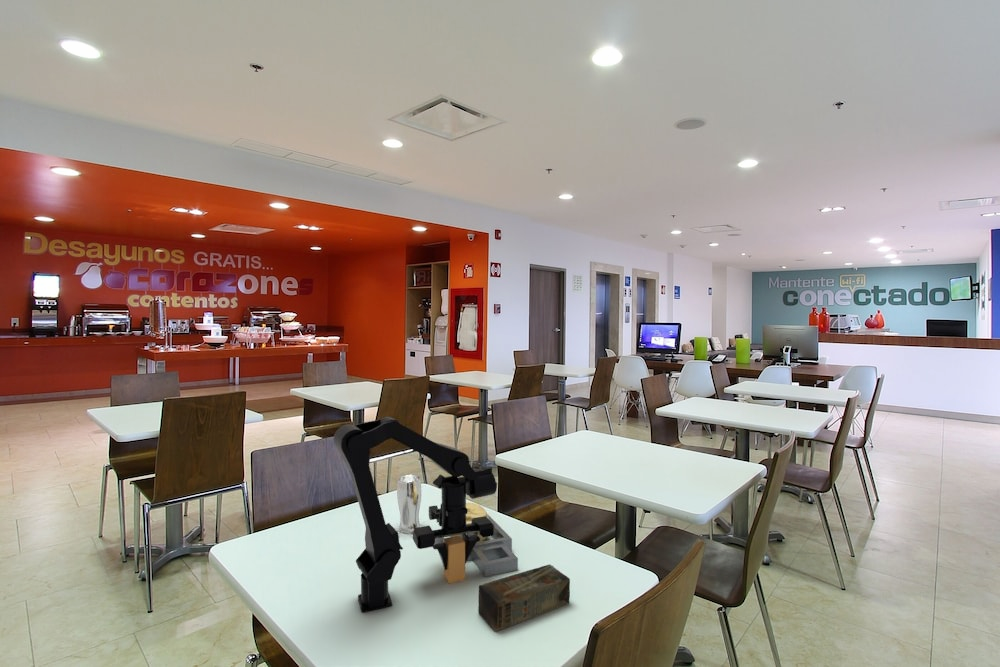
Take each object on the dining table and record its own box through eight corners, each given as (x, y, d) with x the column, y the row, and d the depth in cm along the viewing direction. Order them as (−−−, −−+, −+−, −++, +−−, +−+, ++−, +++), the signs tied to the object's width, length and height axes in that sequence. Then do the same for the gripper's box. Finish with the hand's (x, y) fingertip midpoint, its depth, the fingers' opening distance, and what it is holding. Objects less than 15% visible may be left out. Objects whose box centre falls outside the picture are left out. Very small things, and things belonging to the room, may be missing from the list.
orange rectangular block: (465, 579, 118) (464, 542, 118) (448, 583, 117) (448, 545, 116) (460, 571, 122) (459, 535, 122) (444, 575, 120) (443, 538, 120)
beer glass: (393, 532, 144) (392, 480, 143) (404, 522, 151) (404, 473, 150) (415, 535, 142) (414, 483, 141) (425, 525, 149) (425, 475, 148)
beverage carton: (572, 605, 108) (572, 575, 108) (495, 635, 98) (495, 602, 98) (549, 588, 115) (549, 559, 115) (475, 614, 105) (475, 583, 105)
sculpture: (442, 549, 133) (441, 509, 133) (454, 530, 145) (454, 493, 145) (484, 553, 131) (483, 512, 131) (493, 533, 143) (493, 496, 143)
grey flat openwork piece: (527, 568, 123) (527, 554, 123) (475, 579, 118) (475, 564, 118) (484, 522, 150) (484, 511, 150) (441, 530, 145) (441, 518, 145)
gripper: (479, 486, 130) (479, 545, 130) (407, 496, 122) (408, 559, 123) (495, 500, 119) (495, 565, 120) (417, 513, 112) (418, 581, 113)
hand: (454, 567), depth 119 cm, fingers open, 4 cm apart
